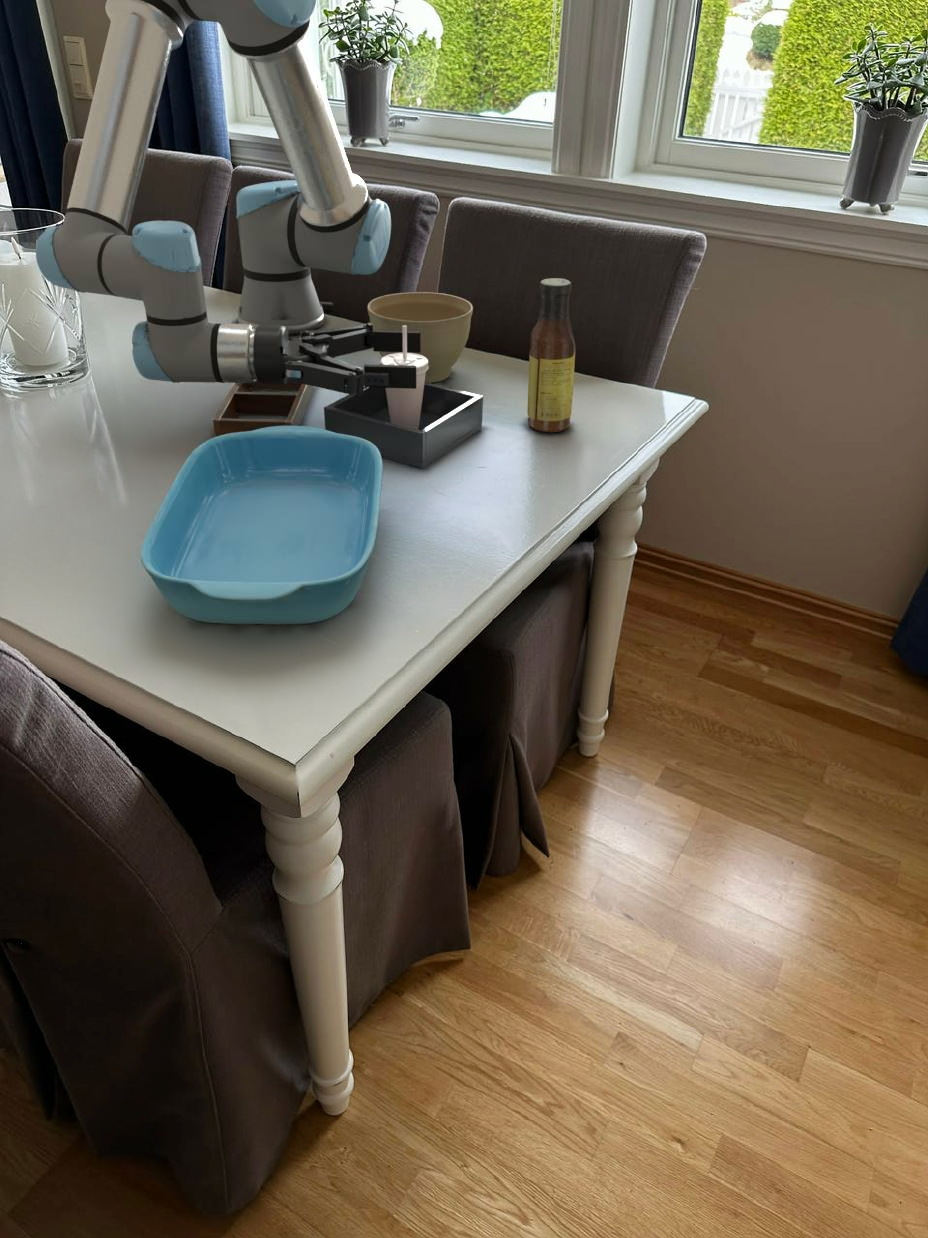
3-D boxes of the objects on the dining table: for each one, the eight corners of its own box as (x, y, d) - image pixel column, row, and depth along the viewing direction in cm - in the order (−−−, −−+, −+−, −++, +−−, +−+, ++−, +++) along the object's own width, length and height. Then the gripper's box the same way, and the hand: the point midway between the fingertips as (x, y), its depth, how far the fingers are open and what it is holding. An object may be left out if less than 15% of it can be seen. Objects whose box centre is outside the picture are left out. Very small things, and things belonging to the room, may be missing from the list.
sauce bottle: (578, 425, 129) (593, 282, 117) (551, 438, 125) (564, 291, 113) (543, 413, 132) (554, 272, 121) (515, 424, 128) (524, 280, 117)
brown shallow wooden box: (246, 387, 137) (243, 367, 136) (314, 388, 137) (312, 369, 136) (215, 441, 121) (212, 420, 119) (293, 443, 121) (291, 422, 119)
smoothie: (431, 421, 126) (431, 321, 118) (424, 440, 121) (425, 336, 113) (386, 418, 127) (383, 318, 119) (378, 437, 122) (374, 333, 114)
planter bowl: (477, 362, 149) (480, 294, 143) (460, 397, 136) (462, 325, 130) (383, 353, 151) (382, 287, 145) (357, 387, 138) (354, 316, 132)
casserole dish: (372, 656, 83) (369, 592, 79) (127, 655, 82) (112, 590, 78) (389, 478, 113) (387, 424, 109) (210, 476, 112) (202, 422, 108)
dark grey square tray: (390, 404, 133) (389, 373, 130) (482, 428, 127) (483, 395, 124) (325, 440, 122) (323, 407, 119) (422, 468, 116) (422, 433, 113)
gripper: (275, 350, 131) (422, 354, 131) (241, 418, 110) (414, 423, 111) (270, 298, 126) (422, 302, 127) (233, 358, 106) (414, 363, 106)
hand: (418, 358), depth 119 cm, fingers open, 13 cm apart
